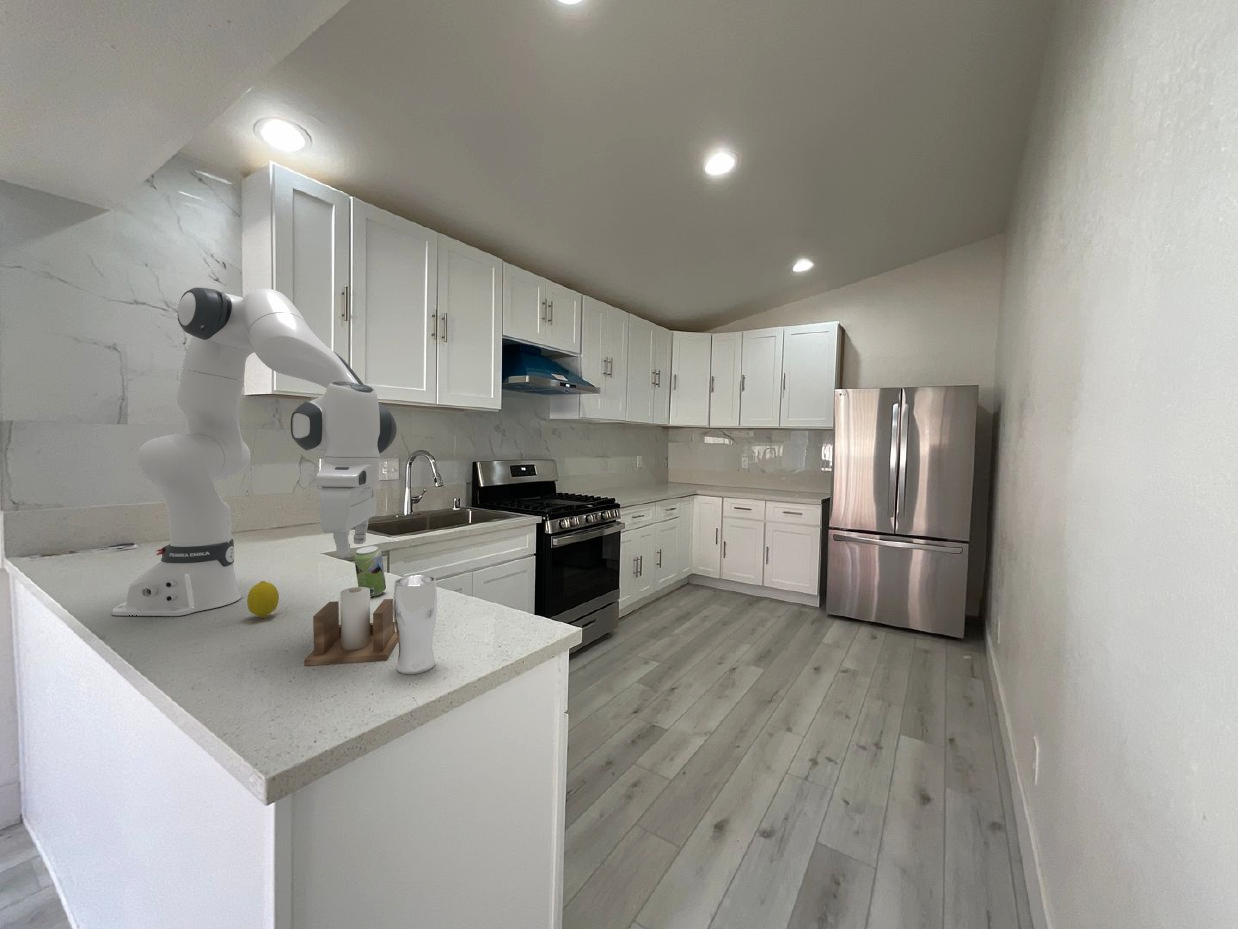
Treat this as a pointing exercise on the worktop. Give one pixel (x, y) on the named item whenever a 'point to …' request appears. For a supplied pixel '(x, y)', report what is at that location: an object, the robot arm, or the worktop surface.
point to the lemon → (263, 599)
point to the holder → (330, 637)
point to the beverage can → (370, 569)
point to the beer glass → (415, 622)
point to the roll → (355, 618)
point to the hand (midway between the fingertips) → (351, 548)
